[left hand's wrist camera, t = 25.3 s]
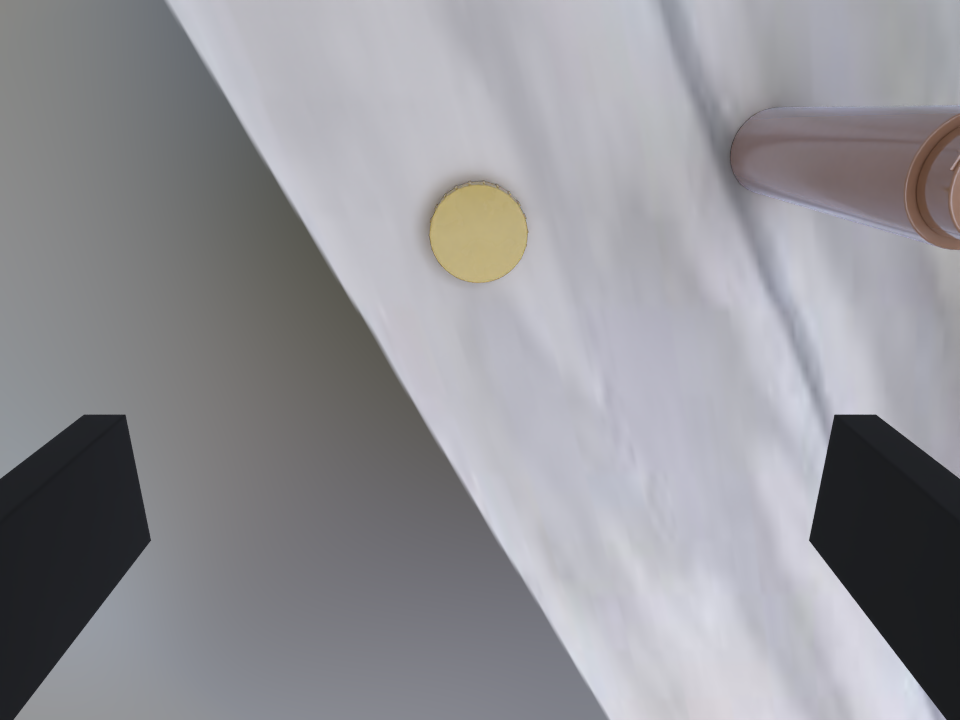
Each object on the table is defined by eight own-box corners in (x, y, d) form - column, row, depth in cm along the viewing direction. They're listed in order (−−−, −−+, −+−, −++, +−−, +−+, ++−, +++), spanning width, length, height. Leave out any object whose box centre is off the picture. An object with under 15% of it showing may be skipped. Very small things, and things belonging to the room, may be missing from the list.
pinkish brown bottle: (829, 126, 39) (1128, 138, 21) (787, 206, 40) (1032, 281, 22) (755, 94, 38) (997, 79, 20) (715, 176, 40) (907, 230, 22)
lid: (427, 271, 42) (425, 279, 40) (435, 174, 40) (432, 178, 38) (519, 280, 42) (521, 288, 40) (532, 185, 40) (534, 189, 38)
